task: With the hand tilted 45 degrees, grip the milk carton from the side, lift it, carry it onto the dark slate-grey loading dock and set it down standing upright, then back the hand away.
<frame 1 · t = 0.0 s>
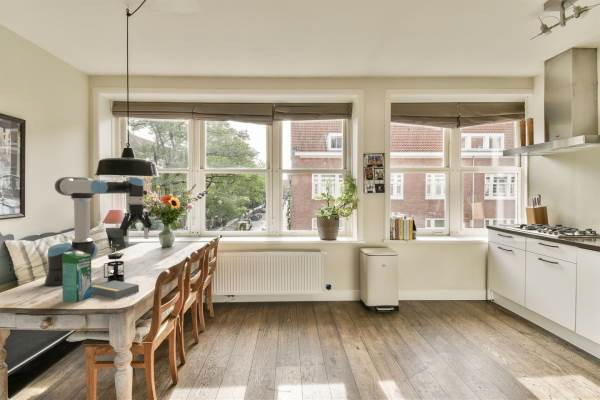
hand: (136, 240, 193), 28 cm above the table, tool pointing down, fingers open, 13 cm apart
milk carton: (77, 299, 174), on the table
loading dock: (115, 292, 184), on the table
french press: (114, 281, 206), on the table
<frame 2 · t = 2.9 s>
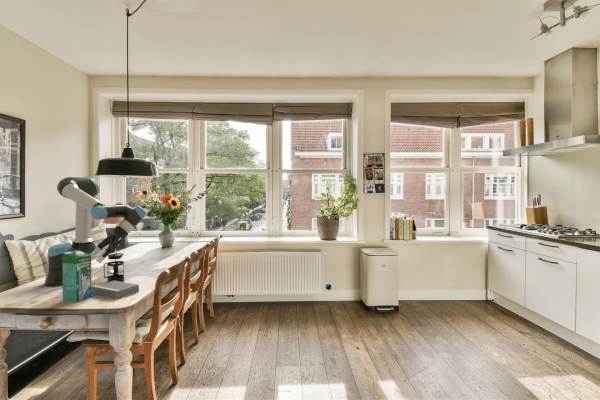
hand: (93, 259, 178), 20 cm above the table, tool tilted 45°, fingers open, 13 cm apart
nothing on the table moved.
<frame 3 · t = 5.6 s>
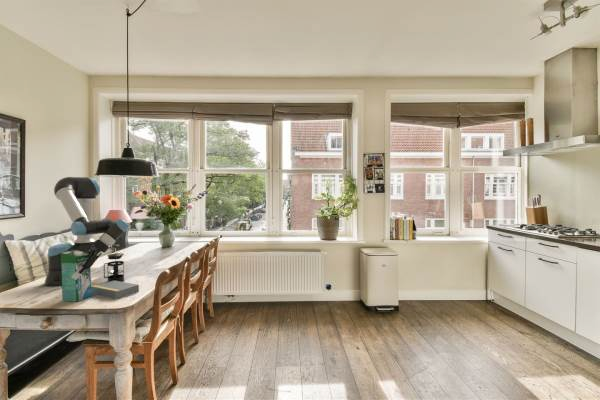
hand: (70, 276, 171), 12 cm above the table, tool tilted 45°, fingers open, 11 cm apart
milk carton: (77, 298, 174), on the table, touching gripper
everything else where it was.
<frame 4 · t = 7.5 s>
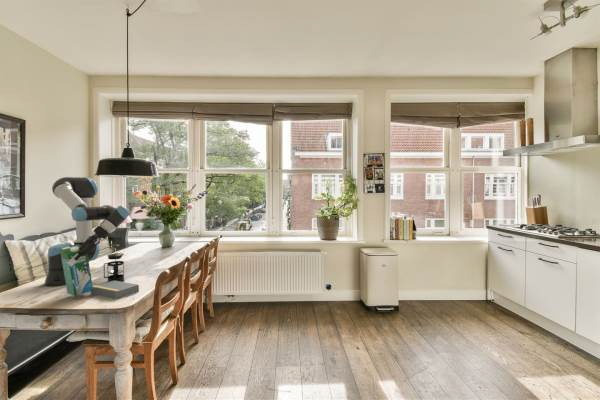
hand: (68, 264, 170), 19 cm above the table, tool tilted 45°, fingers closed on milk carton, 1 cm apart
milk carton: (80, 292, 178), point 2 cm above the table, touching gripper, hand
everything else where it was.
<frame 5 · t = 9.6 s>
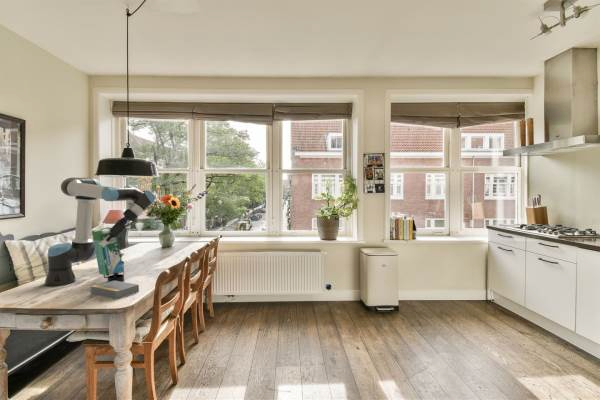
hand: (101, 245, 178), 27 cm above the table, tool tilted 45°, fingers closed on milk carton, 2 cm apart
milk carton: (111, 272, 186), point 11 cm above the table, touching gripper, hand
everything else where it was.
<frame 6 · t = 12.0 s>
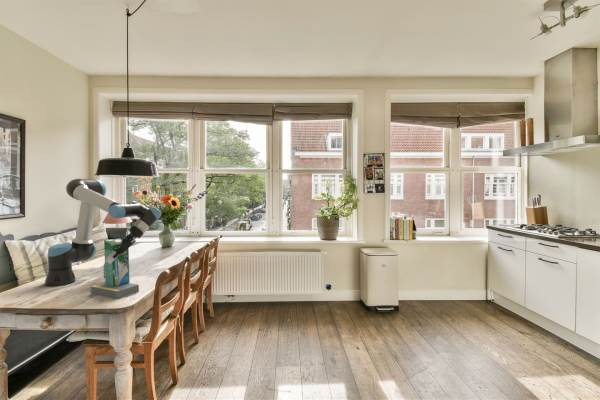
hand: (107, 262, 180), 18 cm above the table, tool tilted 45°, fingers closed
milk carton: (117, 283, 188), point 4 cm above the table, touching loading dock
everything else where it was.
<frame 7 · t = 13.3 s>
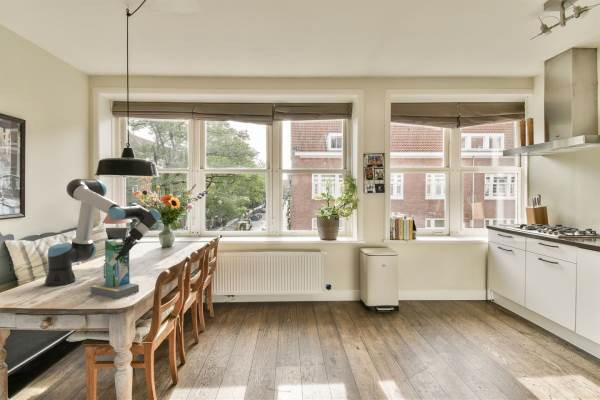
hand: (108, 263, 181), 17 cm above the table, tool tilted 45°, fingers open, 7 cm apart
nothing on the table moved.
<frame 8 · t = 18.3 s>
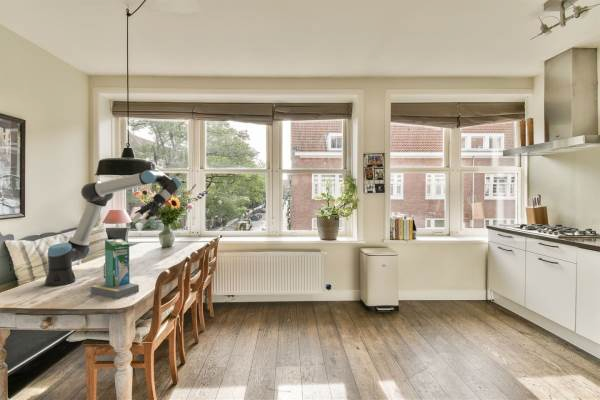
hand: (136, 222, 199), 38 cm above the table, tool tilted 45°, fingers open, 13 cm apart
nothing on the table moved.
at the end: milk carton inside the target area on the loading dock (4.6 cm from its centre), point 3.8 cm above the loading dock's base; milk carton tilted 0°; the gripper is holding nothing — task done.
